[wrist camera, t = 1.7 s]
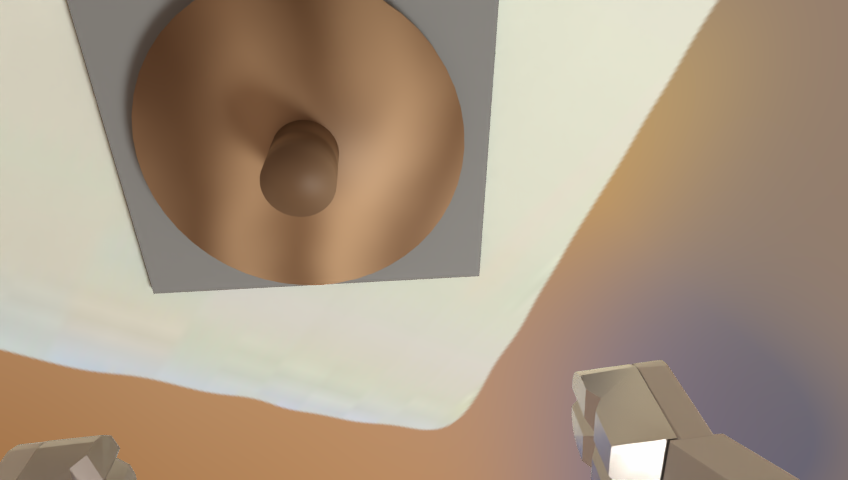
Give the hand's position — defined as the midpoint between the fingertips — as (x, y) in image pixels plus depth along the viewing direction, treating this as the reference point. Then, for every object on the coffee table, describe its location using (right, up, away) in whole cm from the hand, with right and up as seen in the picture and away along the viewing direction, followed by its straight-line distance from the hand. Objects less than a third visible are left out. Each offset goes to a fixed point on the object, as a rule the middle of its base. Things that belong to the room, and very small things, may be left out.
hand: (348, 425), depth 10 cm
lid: (-5, +8, +20) cm, 22 cm away
